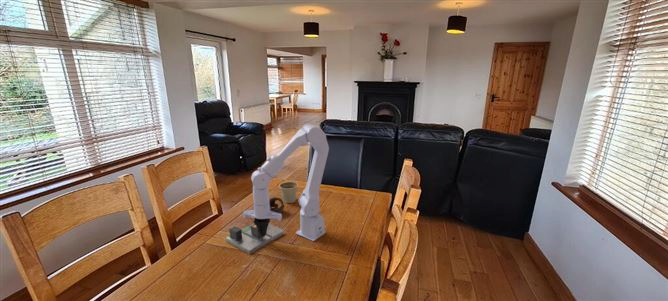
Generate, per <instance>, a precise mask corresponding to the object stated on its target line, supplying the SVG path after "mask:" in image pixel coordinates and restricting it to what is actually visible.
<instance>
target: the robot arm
mask: <svg viewBox="0 0 668 301" xmlns="http://www.w3.org/2000/svg"><path fill="white" fill-rule="evenodd" d="M309 143H310V144H309ZM309 145H311V146H312V148H313V149H314V153H313V157H312V160H311V161H312V162H311V165H310V170H309V173H308V177H307V181H306V185H305V188H304V189H303V190H302V194H301V195H300V196H299V198H298V204H299V206H300V211H299V223H300V228H299V230H297V231H296V232H295V234H296V235H298V236H301V237H303V238H305V239H308V240H309V241H312V242H315V241H316V240H317V239H319V238H321V237H322V236H323V235H325V234H326V232H327V231H325V226H326V225H325V223H326V222H325V218H324V216H322V215H321V214H320V213H319V212H320V210H321V207H320V201H321V200H320V199H321V198H320V192H319V191H320V188H321V185H322V180H323V175H324V171H325V169H326V163H327V159H328V155H329V150H330V146H329V143H328V139H327V134H326V133H325V132H324V130H323V129H322V128H320V127H319V126H317V125H315V124H313V123H311V122H310V123H306V124H304V125H303V126H302V127H301V128H300V129H299V130H298V131H297V132H296V133H295V134H294V135H293V137H292V138H291V139H290V140H288V143H287V144H285V146H284V147H283V148H282V149H281V150H280V151H279V153H278V154H273V155H271V156H268V157H267V158H266V161H265V162H264V163H263V164H262V165H261V167H260V166H259V167H258V168H257V170H255V171H253V172H252V174H251V177H250V179H251V180H250V181H251V182H252V200H253V210H244V211H243V213H242V217H243V218H244V219H245V218H254V220H253V224H255V225H256V226H257V228H258V230H259V232H260V235H261V236H262V237H264V236H265V235H266V232H267V227H268V224H270V222H271V220H277V221H278V222H280V221H282V218H283V215H282V213H281V212H280V213H276V212H272V211H270V202H269V199H270V190H269V186H270V183H271V180H272V179H273V178H274V177H275V176H276V175H277V174H278V173H279V172H280V171H281V170H282V169H283V168H284V166H285V161H287V159H288V158H289V157H290V156H291V155H292V154H294V152H295V151H297V149H299V148H300V147H307V146H309Z"/></svg>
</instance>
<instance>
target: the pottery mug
mask: <svg viewBox="0 0 668 301" xmlns="http://www.w3.org/2000/svg"><path fill="white" fill-rule="evenodd" d="M276 201H279V202H280V203H281V205H280V206H279V204H278V203H276ZM269 202H270V211H272V212H276V213H280V214H281V213H282V212H283V211H284V209H285V203H284V202H283V199H281V198H280V197H276V196H275V197H271V198H270V197H269ZM272 208H273V209H272Z"/></svg>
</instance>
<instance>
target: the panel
mask: <svg viewBox="0 0 668 301" xmlns="http://www.w3.org/2000/svg"><path fill="white" fill-rule="evenodd" d="M252 225H254V223H251V224H250V225H248V226H245V227H244V228H242V229H241V228H240V227H237V226H235V225H234V226H233V227H230V228H229V229H228V230H229V231H228V232H229V235H228V236H226V237H225V242H227V243H229V244H230V245H233V246H234V247H236V248H238V249H240V250H241V251H243V252H245V253H247V254H249V255H251V254H252V253H254V252H255V251H257V250H259V249H261V248H263V247H264V246H265V245H267V244H269V243H270V242H272V241H274V240H276V239H277V238H279V237H282V235H284V234H285V230H284V229H282V228H280V227H278V226H275V225H273V224H270V223H269V224H268V227H267V232H266V235H265V236H264V237H262V236H260V237H256V236H254V235H252V234H251V226H252Z"/></svg>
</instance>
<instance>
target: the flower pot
mask: <svg viewBox="0 0 668 301" xmlns="http://www.w3.org/2000/svg"><path fill="white" fill-rule="evenodd" d="M298 186H299V183H298V182H295V181H285V182H282V183H280V184H279V185H278V188H279V189H280V192H281V196H282V201H283V204H293V203H295V202H296V199H297V189H298Z"/></svg>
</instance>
